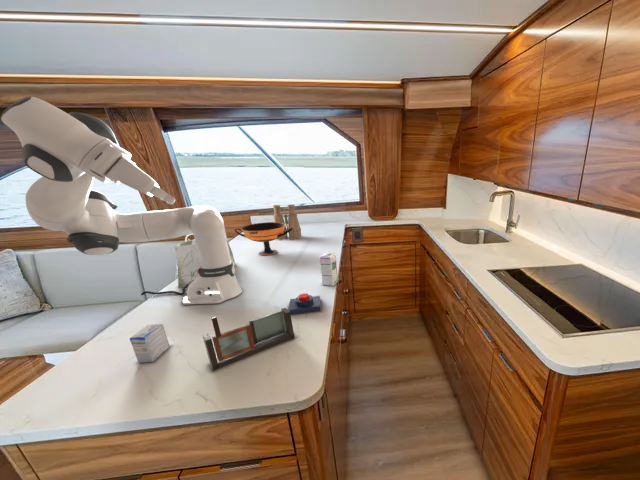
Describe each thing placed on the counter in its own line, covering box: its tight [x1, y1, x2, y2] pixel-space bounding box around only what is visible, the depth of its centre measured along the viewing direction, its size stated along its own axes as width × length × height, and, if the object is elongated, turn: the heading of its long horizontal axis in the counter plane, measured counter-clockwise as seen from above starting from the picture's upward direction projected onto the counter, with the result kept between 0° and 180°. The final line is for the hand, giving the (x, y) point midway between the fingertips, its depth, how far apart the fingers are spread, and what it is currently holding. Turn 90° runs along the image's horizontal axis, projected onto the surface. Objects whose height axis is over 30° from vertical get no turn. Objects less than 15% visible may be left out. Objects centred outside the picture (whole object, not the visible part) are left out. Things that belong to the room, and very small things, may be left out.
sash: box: [210, 316, 255, 362], centre depth 87 cm, size 10×1×14 cm, turn 132°
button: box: [297, 292, 310, 301], centre depth 119 cm, size 4×4×2 cm
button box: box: [287, 294, 321, 316], centre depth 120 cm, size 12×10×4 cm
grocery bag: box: [174, 234, 236, 288], centre depth 153 cm, size 32×14×23 cm, turn 4°
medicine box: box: [129, 323, 170, 363], centre depth 91 cm, size 8×4×9 cm, turn 5°
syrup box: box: [318, 252, 339, 286], centre depth 141 cm, size 6×6×14 cm
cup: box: [234, 221, 293, 256], centre depth 190 cm, size 36×26×18 cm
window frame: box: [201, 307, 295, 372], centre depth 92 cm, size 24×4×10 cm, turn 132°
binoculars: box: [272, 204, 303, 240], centre depth 226 cm, size 21×10×25 cm, turn 93°
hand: (173, 202), depth 76 cm, fingers open, 8 cm apart
